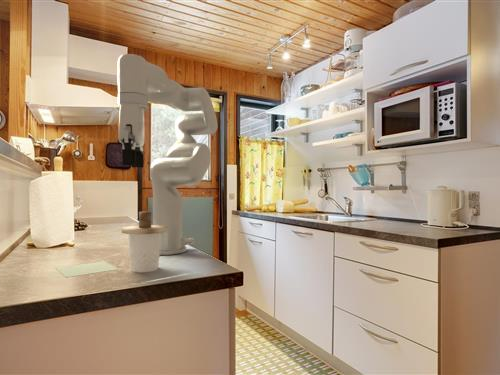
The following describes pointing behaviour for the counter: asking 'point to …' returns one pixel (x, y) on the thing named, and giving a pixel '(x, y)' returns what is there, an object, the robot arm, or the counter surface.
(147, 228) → the lid
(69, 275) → the mat
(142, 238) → the white cup
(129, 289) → the counter surface
